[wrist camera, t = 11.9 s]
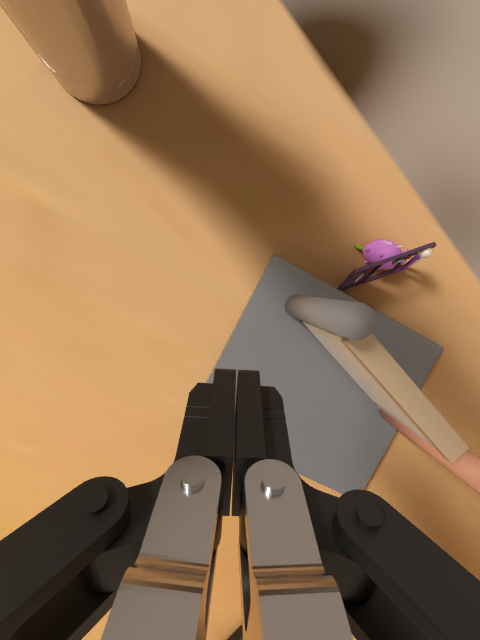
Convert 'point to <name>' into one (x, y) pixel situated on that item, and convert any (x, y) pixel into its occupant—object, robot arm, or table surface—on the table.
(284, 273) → the board
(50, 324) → the table surface
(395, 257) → the purple decorated picture frame
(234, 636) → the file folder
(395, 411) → the panel
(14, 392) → the table surface
